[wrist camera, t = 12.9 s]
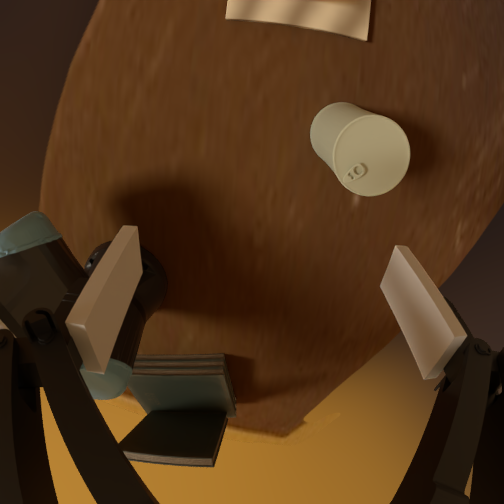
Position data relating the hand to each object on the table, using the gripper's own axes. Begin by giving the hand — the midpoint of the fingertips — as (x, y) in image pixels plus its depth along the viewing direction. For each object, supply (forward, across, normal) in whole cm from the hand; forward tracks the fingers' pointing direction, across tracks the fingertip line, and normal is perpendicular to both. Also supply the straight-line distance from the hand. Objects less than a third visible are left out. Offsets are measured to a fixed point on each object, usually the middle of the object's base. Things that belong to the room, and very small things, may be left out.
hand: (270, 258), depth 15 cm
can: (+29, +12, +2) cm, 31 cm away
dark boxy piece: (+29, -11, -55) cm, 63 cm away
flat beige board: (+29, +4, +22) cm, 36 cm away
